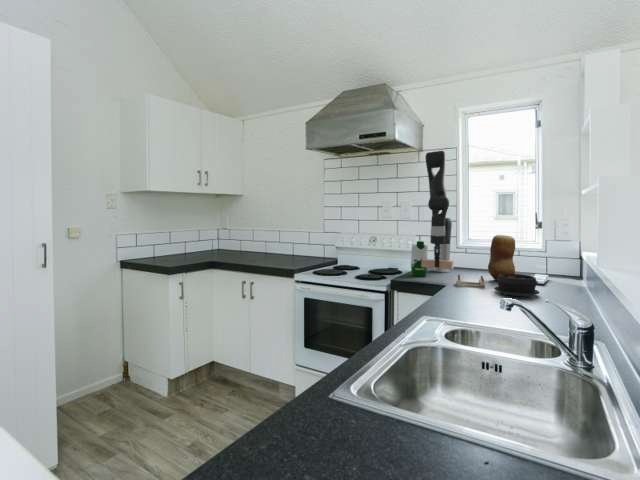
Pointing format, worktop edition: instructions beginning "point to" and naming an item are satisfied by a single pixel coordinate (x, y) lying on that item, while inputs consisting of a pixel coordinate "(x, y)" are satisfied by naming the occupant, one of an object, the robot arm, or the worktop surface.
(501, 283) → the casserole
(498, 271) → the butternut squash
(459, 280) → the rack
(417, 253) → the milk carton
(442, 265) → the brown wooden block
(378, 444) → the worktop surface
